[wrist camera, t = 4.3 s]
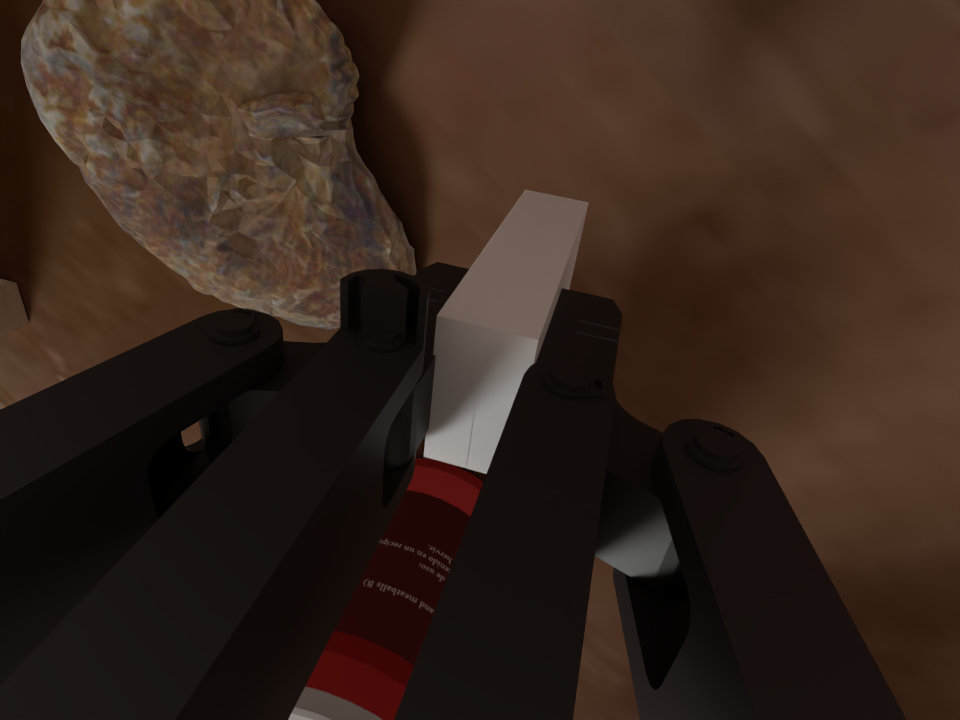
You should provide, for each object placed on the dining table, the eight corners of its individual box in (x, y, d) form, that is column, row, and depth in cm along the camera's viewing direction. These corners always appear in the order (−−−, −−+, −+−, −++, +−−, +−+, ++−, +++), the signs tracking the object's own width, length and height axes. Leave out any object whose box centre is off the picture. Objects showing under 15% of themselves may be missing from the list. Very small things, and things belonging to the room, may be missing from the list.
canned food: (381, 577, 30) (257, 827, 21) (337, 448, 26) (163, 684, 17) (531, 592, 28) (466, 881, 19) (506, 453, 24) (408, 728, 15)
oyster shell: (223, 325, 25) (136, 388, 21) (78, -27, 19) (-82, -33, 15) (437, 313, 22) (385, 385, 18) (341, -106, 16) (232, -141, 12)
